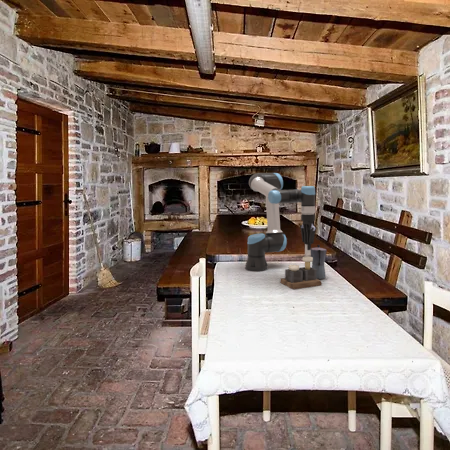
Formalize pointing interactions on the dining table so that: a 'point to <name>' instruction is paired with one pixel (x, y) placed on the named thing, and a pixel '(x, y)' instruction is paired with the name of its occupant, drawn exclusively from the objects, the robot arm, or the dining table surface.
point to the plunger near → (293, 267)
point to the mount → (301, 278)
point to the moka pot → (319, 261)
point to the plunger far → (307, 262)
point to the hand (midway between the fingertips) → (307, 255)
